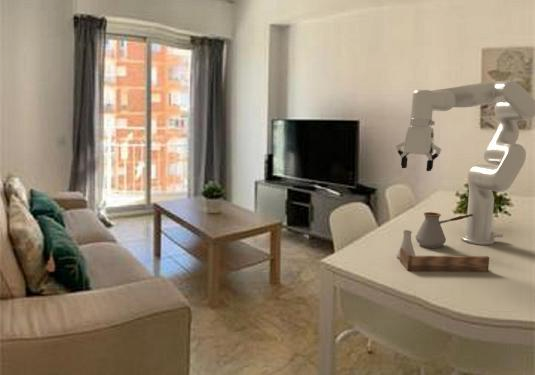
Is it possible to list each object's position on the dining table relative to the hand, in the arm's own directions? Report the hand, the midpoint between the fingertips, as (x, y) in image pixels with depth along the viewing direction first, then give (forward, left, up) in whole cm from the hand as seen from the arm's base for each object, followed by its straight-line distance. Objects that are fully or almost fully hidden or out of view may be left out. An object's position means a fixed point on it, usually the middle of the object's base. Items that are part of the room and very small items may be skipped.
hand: (416, 169), depth 178 cm
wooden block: (-5, +20, -31) cm, 37 cm away
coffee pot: (-13, -2, -31) cm, 34 cm away
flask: (+5, +11, -31) cm, 34 cm away
